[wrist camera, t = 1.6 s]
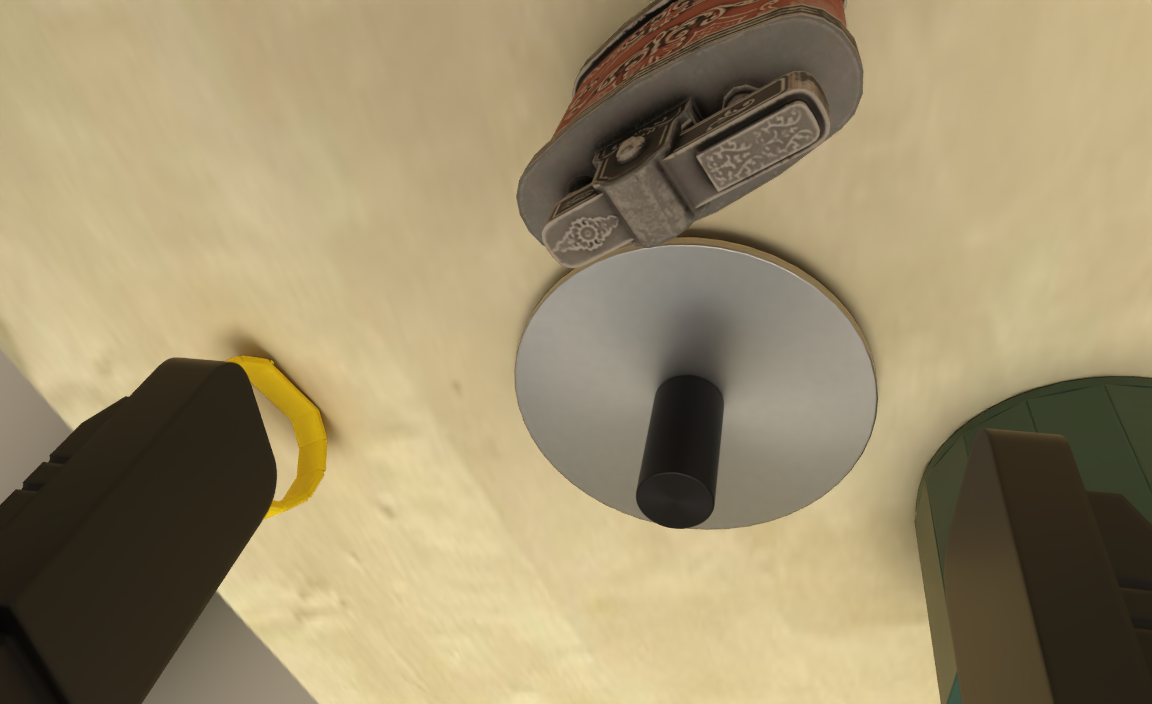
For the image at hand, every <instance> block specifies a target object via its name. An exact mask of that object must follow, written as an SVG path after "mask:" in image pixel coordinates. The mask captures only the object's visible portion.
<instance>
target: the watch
mask: <svg viewBox="0 0 1152 704" xmlns="http://www.w3.org/2000/svg"><path fill="white" fill-rule="evenodd" d="M225 362H234V363H237V364H239V365H240V366H241V367H242V368H243V369H244V370H245V372H246V373H247V375H248V378H249V380H250V382H251V383H252V384H253V385H254V386H256V387H257V388H258V389H259V390H260V391H261V392H262V393H263V394H264V395H265V396H266V397H267V398H268V399H269V400H270V401H271V402H272V403H274V404H275V405H276V406H277V407H278V408H279V409H280V410H281V411H282V412H283V413H284V414H285V415H286V416H287V417H288V418H289V419H290V420H291V421H292V425H293V428H294V432H295V435H296V439H297V442H298V446H299V458H298V468H297V478H296V479H295V481H294V482H293V484H292V485H291V487H290V489H289V490H288V492H287V493H286V495H285V497H284V498H283V500H281V501H272V504H271V506H270V508H269V511H268V512H267V514H266V516H265V517H264V519H266V518H269V517H271V516H274V515H277V514H279V513H282V512H284V511H287V510H289V509H291V508H293V507H295V506H297V505H299V504H301V503H303V502H305V501H307V500H308V498H311V497H312V495H313V493H314V492H315V490H316V488H317V486H318V485H319V483H320V481H321V480H322V478H323V476H324V472H325V470H326V457H327V444H328V442H327V441H326V439H327V436H326V433H325V429H324V426H323V422H322V419H321V416H320V412H319V409H318V408H317V407H316V406H315V405H314V404H313V403H311V402H310V401H309V400H308V399H307V398H306V397H305V396H304V395H303V394H302V393H301V392H300V391H299V390H298V389H297V388H296V387H295V386H294V385H293V384H292V383H291V382H290V381H289V380H288V379H287V378H286V377H285V376H284V375H283V374H282V373H281V372H280V371H279V370H278V369H277V368H276V367H275V366H274V365H273V364H274V362H273V361H272V360H271V361H269V360H268V359H265V358H258V357H250V356H243V355H241V356H239V357H238V356H236V357H234V358H232V359H230V360H227V361H225ZM264 519H263V520H264Z"/></svg>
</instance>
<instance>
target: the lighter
mask: <svg viewBox="0 0 1152 704" xmlns="http://www.w3.org/2000/svg"><path fill="white" fill-rule="evenodd" d="M846 4H847V0H655V1H654V2H653V3H651V4H650V5H649V6H647V7H646V8H645V9H643V10H642V11H641V12H639V13H638V14H637V15H635V16H634V17H633V18H631V19H630V20H629V21H627V22H626V23H625V24H624V25H623V26H622V27H621V28H620V29H619V30H618V31H617V32H616V33H615V34H614V35H613V36H612V37H611V38H609V39H608V40H607V41H606V42H605V43H604V44H603V45H602V46H601V47H600V48H599V49H598V50H597V51H596V52H595V53H594V54H593V55H592V56H591V57H590V58H589V59H588V60H587V61H586V63H585V64H584V66H583V68H582V69H581V71H580V72H579V74H578V76H577V78H576V80H575V83H574V88H573V93H572V97H573V100H572V102H571V103H570V105H569V107H568V109H567V111H566V113H565V115H564V117H563V118H562V120H561V122H560V124H559V126H558V128H557V130H556V131H555V133H554V135H553V137H552V139H551V140H550V141H549V142H548V143H547V144H546V145H545V146H544V147H543V148H541V149H540V150H539V151H538V152H537V153H536V154H535V155H534V157H533V158H532V160H531V161H530V163H529V164H528V166H527V167H526V169H525V171H524V173H523V175H522V176H521V178H520V180H519V184H518V190H517V196H516V198H517V203H518V208H519V213H520V216H521V218H522V219H523V221H524V223H525V225H526V227H527V229H528V230H529V232H530V233H531V234H532V235H533V236H534V237H535V238H536V239H537V240H538V241H539V242H540V243H541V244H542V245H544V246H545V247H546V248H547V250H548V251H549V252H550V254H551V255H552V256H553V258H554V259H555V260H556V261H557V262H558V263H559V264H561V265H563V266H565V267H567V268H578V267H581V266H584V265H586V264H588V263H590V262H592V261H594V260H596V259H598V258H600V257H602V256H604V255H606V254H608V253H610V252H612V251H614V250H617V249H620V248H624V247H627V246H631V245H634V246H643V247H644V248H652V247H657V246H659V245H661V244H663V243H665V242H667V241H669V240H671V239H673V238H675V237H677V236H678V235H679V234H681V233H682V232H684V231H685V230H686V229H687V228H688V227H689V226H691V225H692V223H693V222H694V221H696V220H699V219H701V218H704V217H706V216H708V215H711V214H713V213H715V212H718V211H719V210H721V209H723V208H724V207H726V206H728V205H729V204H731V203H733V202H734V201H736V200H738V199H740V198H741V197H743V196H745V195H746V194H748V193H750V192H751V191H753V190H755V189H756V188H758V187H760V186H762V185H763V184H765V183H767V182H768V181H770V180H772V179H773V178H775V177H777V176H778V175H780V174H782V173H783V172H784V171H786V170H787V169H788V168H790V167H791V166H792V165H794V164H795V163H796V162H798V161H799V160H800V159H802V158H803V157H804V156H806V155H807V154H808V153H810V152H811V151H812V150H813V149H815V148H816V147H817V146H819V145H820V144H821V143H823V142H824V141H825V140H827V139H828V138H829V137H831V136H832V135H833V134H835V133H836V132H837V131H839V130H840V129H841V128H842V127H843V126H844V125H845V124H846V123H847V122H848V121H849V120H850V118H851V117H852V116H853V115H854V114H855V112H856V109H857V107H858V104H859V102H860V99H861V97H862V94H863V68H862V62H861V58H860V55H859V52H858V48H857V45H856V42H855V39H854V37H853V36H852V35H851V33H850V32H849V31H848V29H847V26H846V20H845V13H844V10H845V7H846Z"/></svg>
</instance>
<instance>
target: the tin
mask: <svg viewBox="0 0 1152 704" xmlns="http://www.w3.org/2000/svg"><path fill="white" fill-rule="evenodd" d="M981 428H986V429H998V430H1010V431H1021V432H1033V433H1045V434H1057V435H1062V436H1064V437H1065V438H1066V439H1067V441H1068V443H1069V445H1070V447H1071V450H1072V453H1073V456H1074V459H1075V462H1076V464H1077V467H1078V470H1079V473H1080V476H1081V479H1082V481H1083V484H1084V487H1085V490H1086V491H1097V492H1107V493H1118V494H1122V495H1123V496H1124V497H1125V498H1126V499H1127V500H1128V501H1129V502H1130V503H1131V504H1132V505H1133V506H1134V507H1135V508H1136V509H1137V510H1138V511H1139V512H1140V513H1141V514H1142V515H1143V516H1144V517H1145V519H1146V520H1147V521H1148V522H1149V523H1150V524H1151V525H1152V379H1147V378H1139V377H1103V378H1088V379H1081V380H1075V381H1069V382H1062V383H1058V384H1054V385H1050V386H1046V387H1042V388H1039V389H1035V390H1032V391H1030V392H1027V393H1024V394H1021V395H1018V396H1016V397H1013V398H1011V399H1009V400H1007V401H1004V402H1002V403H1000V404H998V405H996V406H994V407H992V408H990V409H989V410H987V411H985V412H984V413H982V414H980V415H979V416H977V417H975V418H974V419H972V420H971V421H970V422H968V423H967V424H966V425H965V426H963V427H962V428H961V429H959V430H958V431H957V432H956V433H955V434H954V435H953V436H952V437H951V438H950V439H949V440H948V441H947V442H946V443H945V444H944V445H943V446H942V447H941V448H940V450H939V451H938V452H937V454H936V455H935V456H934V458H933V459H932V460H931V462H930V464H929V466H928V468H927V470H926V471H925V473H924V475H923V478H922V481H921V484H920V487H919V490H918V496H917V503H916V512H917V514H916V518H915V528H916V535H917V542H918V549H919V556H920V562H921V569H922V576H923V583H924V590H925V597H926V604H927V611H928V618H929V624H930V631H931V638H932V645H933V652H934V659H935V666H936V673H937V680H938V687H939V693H940V700H941V704H962V700H961V694H960V687H959V681H958V674H957V668H956V661H955V655H954V648H953V642H952V635H951V629H950V622H949V616H948V609H947V603H946V595H945V580H944V569H945V553H946V545H947V539H948V534H949V530H950V526H951V522H952V518H953V515H954V511H955V507H956V503H957V499H958V495H959V492H960V488H961V484H962V480H963V476H964V472H965V469H966V465H967V461H968V457H969V453H970V449H971V446H972V442H973V439H974V437H975V435H976V433H977V431H978V430H979V429H981Z"/></svg>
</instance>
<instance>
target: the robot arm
mask: <svg viewBox="0 0 1152 704" xmlns="http://www.w3.org/2000/svg"><path fill="white" fill-rule="evenodd" d="M276 481H277V469H276V462H275V458H274V455H273V452H272V449H271V446H270V442H269V439H268V436H267V433H266V430H265V427H264V424H263V421H262V418H261V414H260V411H259V408H258V405H257V402H256V399H255V396H254V393H253V390H252V386H251V383H250V380H249V378H248V375H247V373H246V372H245V370H244V369H243V368H242V367H241V366H240V365H239V364H237V363H234V362H225V361H213V360H201V359H189V358H170V359H168V360H166V361H164V362H163V363H162V364H161V365H159V366H158V368H157V369H156V370H155V371H154V372H153V373H152V374H151V375H150V376H149V377H148V378H147V379H146V380H145V381H144V382H143V383H142V384H141V385H140V386H139V387H138V388H137V389H136V390H135V391H134V392H133V393H132V394H131V395H130V397H127V396H125V397H124V398H122V399H120V400H119V401H117V402H116V403H114V404H112V405H111V406H109V407H107V408H106V409H104V410H102V411H101V412H99V413H98V414H96V415H94V416H93V417H91V418H89V419H88V420H86V421H84V422H83V423H81V424H80V425H79V426H78V427H77V428H76V429H75V430H74V431H73V432H72V433H71V434H70V436H69V437H68V438H67V439H66V440H65V441H64V442H63V443H62V444H61V445H60V446H59V447H58V448H57V449H56V450H55V451H54V452H53V453H52V454H51V455H50V461H49V462H48V463H47V462H43V463H42V464H41V465H40V466H39V467H38V468H37V469H36V470H35V471H34V472H33V473H32V474H31V475H30V476H29V477H28V478H27V479H26V480H25V481H24V482H23V488H22V489H21V490H15V491H14V492H13V493H12V494H11V495H10V496H9V497H8V498H7V499H6V500H5V501H4V502H3V503H2V504H1V505H0V704H142V702H143V701H144V699H145V698H146V696H147V695H148V693H149V692H150V690H151V689H152V687H153V686H154V684H155V683H156V681H157V679H158V678H159V676H160V675H161V673H162V672H163V670H164V669H165V667H166V666H167V664H168V663H169V661H170V660H171V658H172V657H173V655H174V654H175V652H176V651H177V649H178V648H179V646H180V645H181V643H182V642H183V640H184V639H185V637H186V635H187V634H188V632H189V631H190V629H191V628H192V626H193V625H194V623H195V622H196V620H197V619H198V617H199V616H200V614H201V613H202V611H203V610H204V608H205V607H206V605H207V604H208V602H209V601H210V599H211V598H212V596H213V595H214V593H215V592H216V590H217V589H218V587H219V586H220V584H221V582H222V581H223V579H224V578H225V576H226V575H227V573H228V572H229V570H230V569H231V567H232V566H233V564H234V563H235V561H236V560H237V558H238V557H239V555H240V554H241V552H242V551H243V549H244V548H245V546H246V545H247V543H248V542H249V540H250V539H251V537H252V535H253V534H254V532H255V531H256V529H257V528H258V526H259V525H260V523H261V522H262V520H263V519H264V517H265V516H266V514H267V512H268V511H269V508H270V506H271V504H272V501H273V498H274V494H275V489H276ZM944 580H945V595H946V603H947V609H948V616H949V622H950V629H951V635H952V642H953V648H954V655H955V661H956V668H957V674H958V681H959V687H960V694H961V700H962V704H1152V525H1151V524H1150V523H1149V522H1148V521H1147V520H1146V519H1145V517H1144V516H1143V515H1142V514H1141V513H1140V512H1139V511H1138V510H1137V509H1136V508H1135V507H1134V506H1133V505H1132V504H1131V503H1130V502H1129V501H1128V500H1127V499H1126V498H1125V497H1124V496H1123V495H1122V494H1118V493H1107V492H1097V491H1086V490H1085V487H1084V484H1083V481H1082V479H1081V476H1080V473H1079V470H1078V467H1077V464H1076V462H1075V459H1074V456H1073V453H1072V450H1071V447H1070V445H1069V443H1068V441H1067V439H1066V438H1065V437H1064V436H1062V435H1057V434H1045V433H1033V432H1021V431H1010V430H998V429H986V428H981V429H979V430H978V431H977V433H976V435H975V437H974V439H973V442H972V446H971V449H970V453H969V457H968V461H967V465H966V469H965V472H964V476H963V480H962V484H961V488H960V492H959V495H958V499H957V503H956V507H955V511H954V515H953V518H952V522H951V526H950V530H949V534H948V539H947V545H946V553H945V569H944Z"/></svg>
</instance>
